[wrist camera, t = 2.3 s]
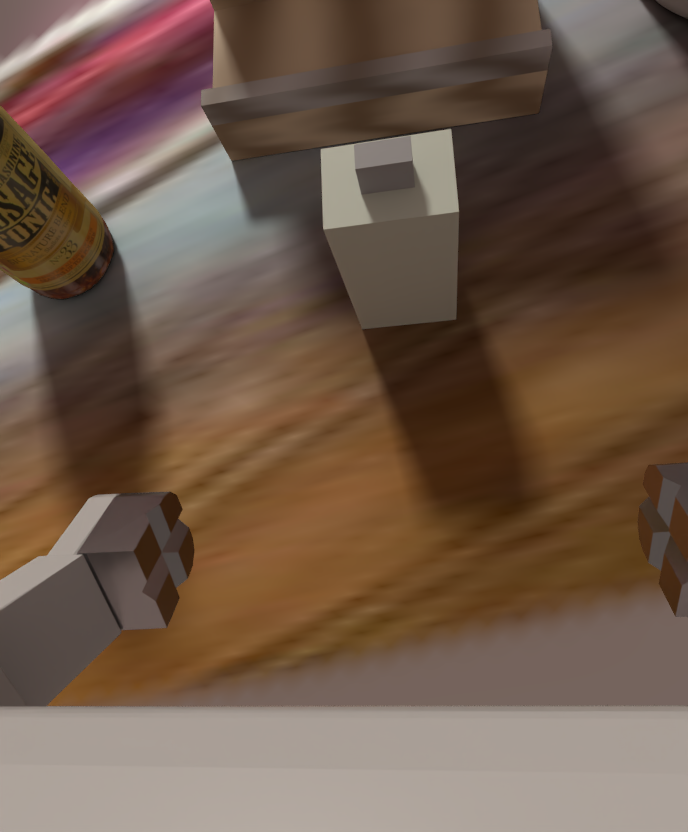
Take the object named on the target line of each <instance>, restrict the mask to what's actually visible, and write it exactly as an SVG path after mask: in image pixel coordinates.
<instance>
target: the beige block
mask: <svg viewBox="0 0 688 832" xmlns="http://www.w3.org/2000/svg"><path fill="white" fill-rule="evenodd" d="M321 176H322V208H323V230H324V233H325V236H326V238H327V241H328V243H329V246H330V248H331V251H332V253H333V256H334V259H335V261H336V264H337V266H338V269H339V271H340V274H341V276H342V279H343V282H344V284H345V287H346V289H347V292H348V294H349V297H350V300H351V302H352V305H353V307H354V310H355V312H356V315H357V317H358V320H359V323H360V325H361V328H362V329H370V328H380V327H389V326H399V325H409V324H419V323H428V322H438V321H448V320H456V312H457V273H458V234H459V206H458V195H457V185H456V174H455V164H454V153H453V143H452V132H451V129H447V130H440V131H434V132H428V133H421V134H415V135H408V136H402V137H395V138H389V139H382V140H376V141H370V142H363V143H357V144H350V145H344V146H337V147H331V148H324V149H321Z"/></svg>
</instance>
